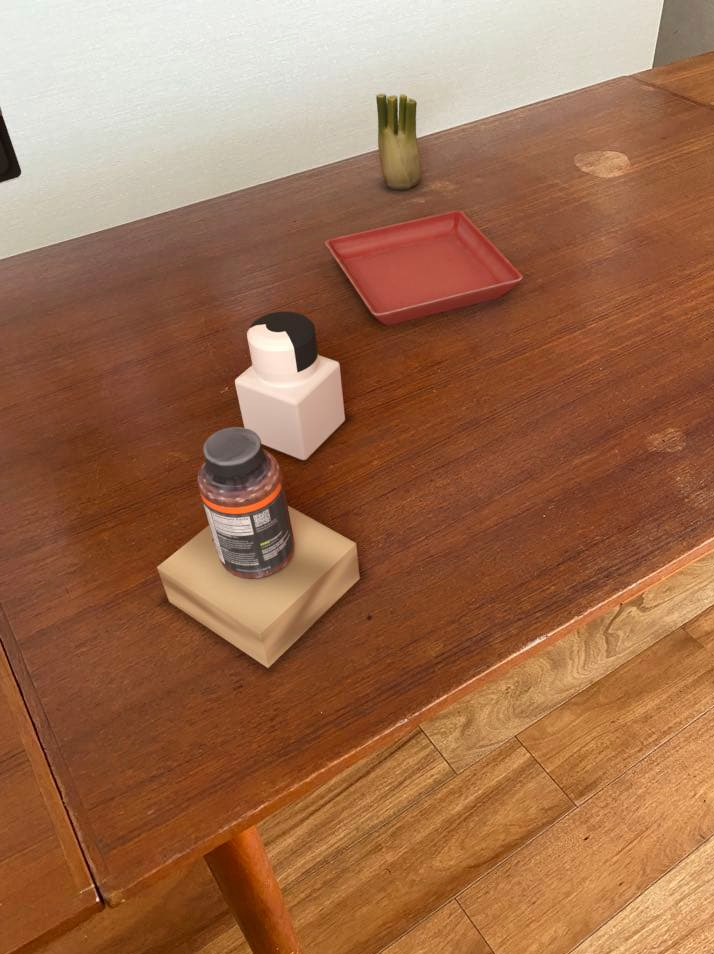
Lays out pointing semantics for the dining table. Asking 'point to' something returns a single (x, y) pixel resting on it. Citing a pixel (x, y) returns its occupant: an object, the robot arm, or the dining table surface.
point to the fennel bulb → (398, 142)
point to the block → (263, 588)
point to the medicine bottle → (289, 386)
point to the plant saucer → (423, 267)
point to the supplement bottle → (245, 504)
